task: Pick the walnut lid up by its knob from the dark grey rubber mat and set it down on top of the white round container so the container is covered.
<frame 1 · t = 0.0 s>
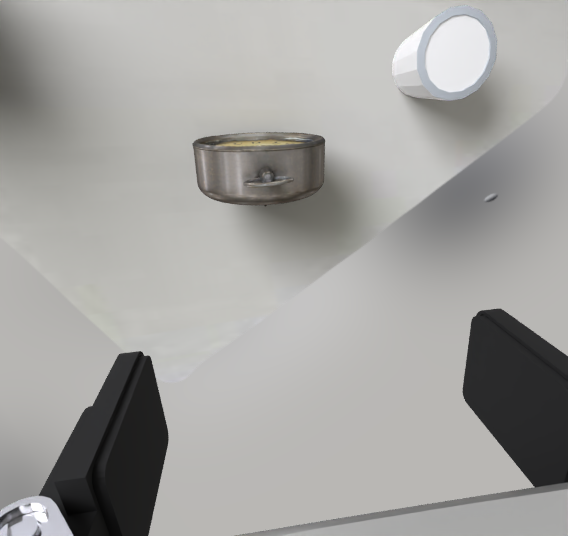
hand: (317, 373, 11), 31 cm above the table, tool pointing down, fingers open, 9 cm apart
alarm clock: (256, 160, 39), on the table
white round container: (418, 66, 38), on the table
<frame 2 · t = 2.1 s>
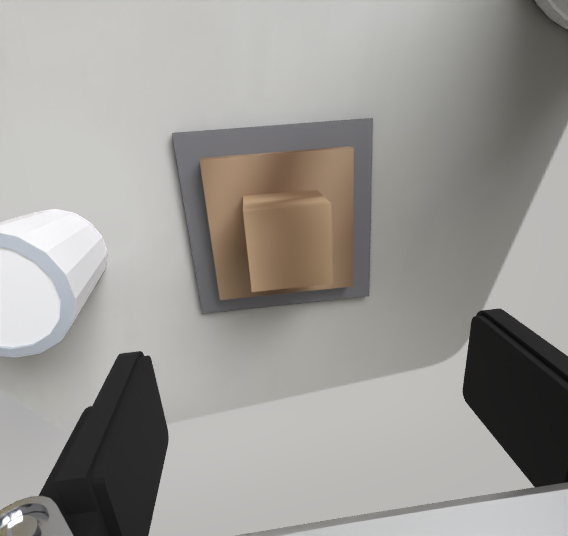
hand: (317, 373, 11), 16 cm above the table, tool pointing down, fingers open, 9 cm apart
white round container: (63, 250, 25), on the table
lid: (281, 223, 25), point 1 cm above the table, touching mat
mat: (280, 221, 25), on the table
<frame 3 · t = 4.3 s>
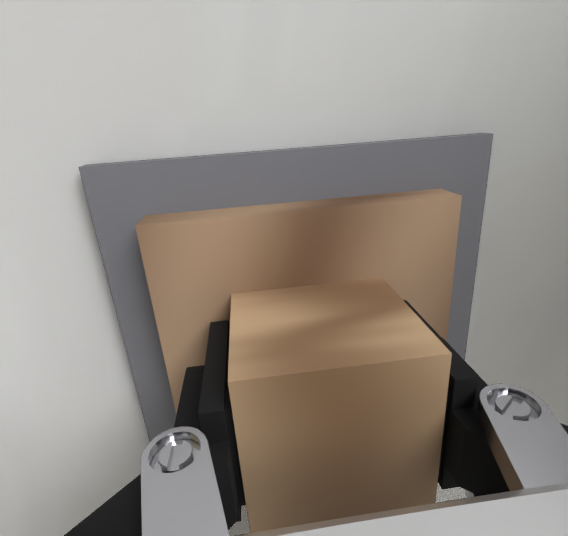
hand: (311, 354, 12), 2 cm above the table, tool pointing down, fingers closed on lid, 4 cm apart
lid: (304, 330, 13), point 1 cm above the table, touching gripper, mat
mat: (302, 322, 14), on the table
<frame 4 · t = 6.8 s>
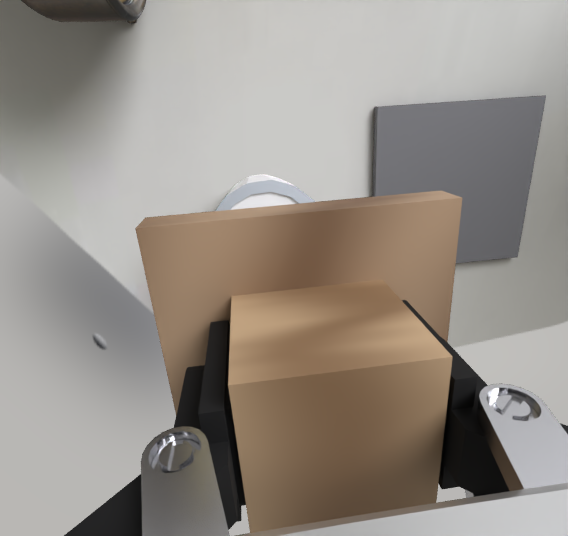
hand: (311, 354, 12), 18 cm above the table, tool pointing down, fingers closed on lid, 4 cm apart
white round container: (261, 212, 28), on the table
lid: (305, 332, 13), point 16 cm above the table, touching gripper
mat: (450, 187, 29), on the table
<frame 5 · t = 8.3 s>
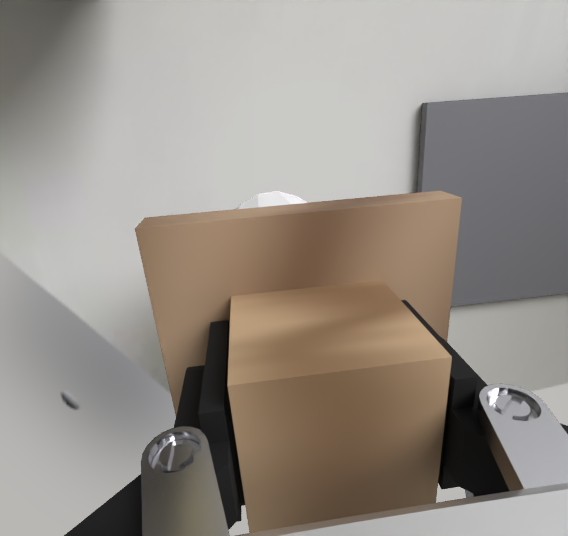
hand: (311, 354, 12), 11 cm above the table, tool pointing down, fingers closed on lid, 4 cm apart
white round container: (273, 239, 22), on the table
lid: (304, 332, 13), point 10 cm above the table, touching gripper
mat: (513, 205, 23), on the table
when the fingers open (10 cm above the table, at t = 9.4 s): lid drops 1 cm, resting on white round container.
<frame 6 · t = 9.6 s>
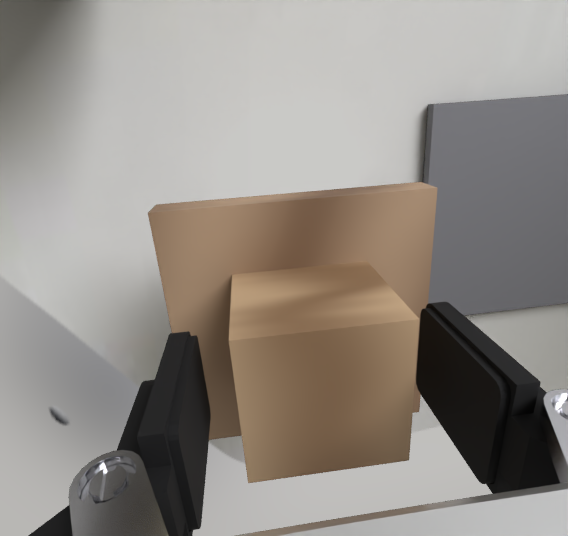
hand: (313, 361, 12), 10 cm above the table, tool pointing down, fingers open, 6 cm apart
lid: (298, 311, 14), point 7 cm above the table, touching white round container
mat: (521, 211, 22), on the table
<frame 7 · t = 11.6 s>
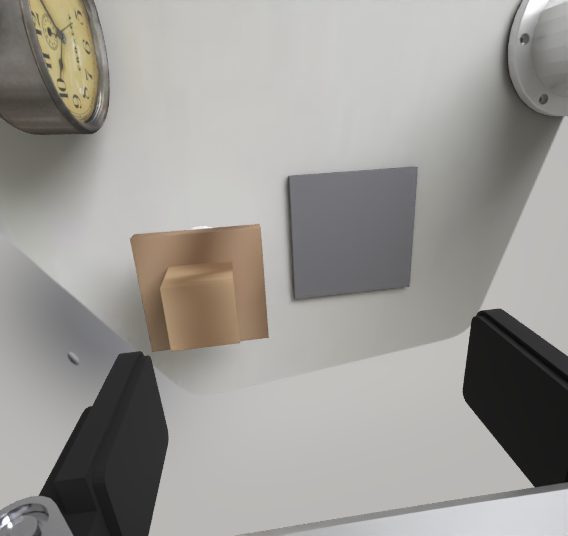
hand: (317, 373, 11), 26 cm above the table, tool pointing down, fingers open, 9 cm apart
alarm clock: (75, 57, 29), on the table
lid: (205, 285, 29), point 7 cm above the table, touching white round container
mat: (352, 234, 37), on the table
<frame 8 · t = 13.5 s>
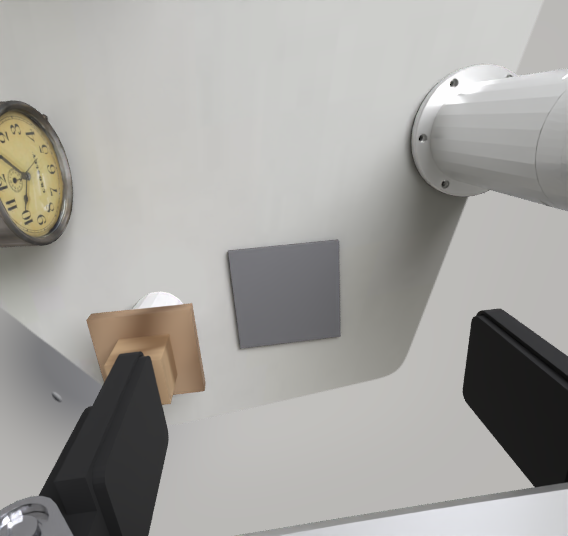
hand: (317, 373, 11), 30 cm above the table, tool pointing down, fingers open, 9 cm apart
alarm clock: (46, 167, 36), on the table
white round container: (161, 313, 43), on the table, touching lid
lid: (151, 350, 36), point 7 cm above the table, touching white round container
mat: (287, 294, 44), on the table
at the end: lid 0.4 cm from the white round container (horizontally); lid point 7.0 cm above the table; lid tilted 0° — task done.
